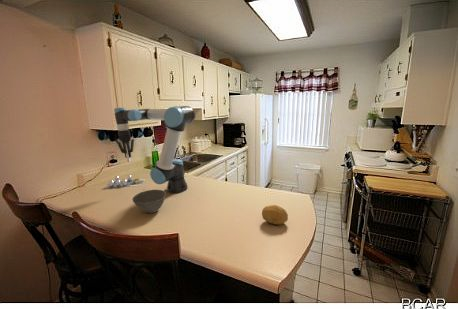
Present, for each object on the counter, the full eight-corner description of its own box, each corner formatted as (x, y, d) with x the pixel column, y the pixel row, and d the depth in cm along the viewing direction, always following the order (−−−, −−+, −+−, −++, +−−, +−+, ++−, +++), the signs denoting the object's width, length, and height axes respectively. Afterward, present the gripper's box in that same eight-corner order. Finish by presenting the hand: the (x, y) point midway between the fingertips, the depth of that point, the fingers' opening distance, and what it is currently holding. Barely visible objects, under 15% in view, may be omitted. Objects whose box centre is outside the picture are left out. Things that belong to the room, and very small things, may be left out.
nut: (140, 181, 180) (140, 178, 179) (138, 183, 175) (138, 180, 174) (135, 181, 180) (134, 178, 179) (133, 184, 175) (132, 180, 174)
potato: (285, 213, 104) (288, 203, 112) (258, 209, 110) (263, 200, 118) (286, 229, 107) (289, 219, 115) (260, 225, 113) (265, 215, 121)
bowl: (134, 207, 136) (132, 193, 134) (165, 201, 143) (163, 187, 141) (134, 222, 119) (132, 205, 117) (169, 214, 126) (167, 198, 124)
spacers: (132, 180, 184) (131, 174, 183) (126, 186, 170) (125, 180, 169) (116, 181, 182) (115, 175, 181) (109, 187, 169) (108, 181, 168)
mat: (145, 180, 186) (145, 179, 185) (140, 186, 171) (140, 185, 171) (112, 182, 183) (112, 181, 183) (104, 189, 168) (104, 188, 168)
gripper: (134, 128, 158) (139, 159, 163) (116, 129, 157) (122, 161, 162) (131, 129, 150) (136, 162, 156) (111, 131, 150) (117, 163, 155)
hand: (129, 161), depth 159 cm, fingers closed
